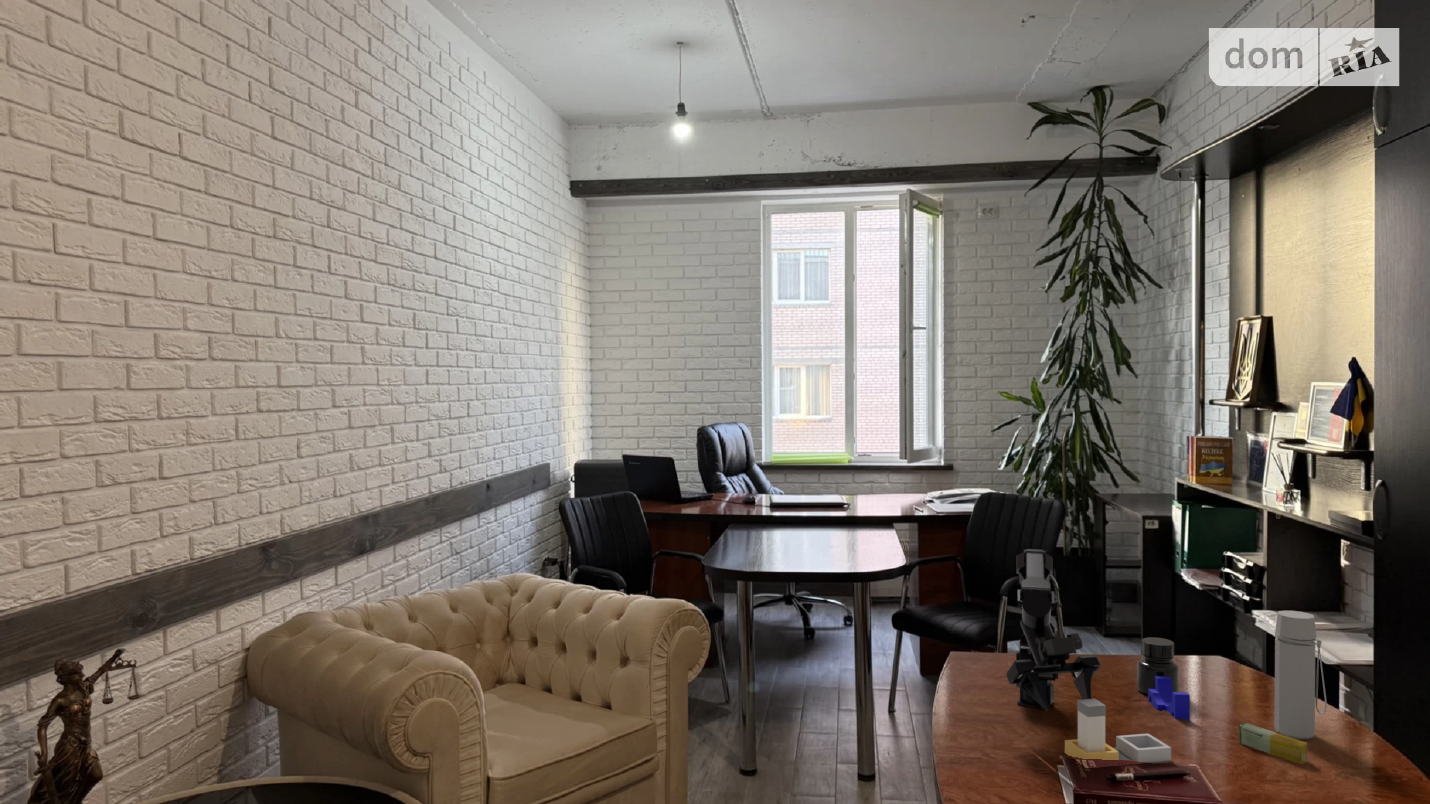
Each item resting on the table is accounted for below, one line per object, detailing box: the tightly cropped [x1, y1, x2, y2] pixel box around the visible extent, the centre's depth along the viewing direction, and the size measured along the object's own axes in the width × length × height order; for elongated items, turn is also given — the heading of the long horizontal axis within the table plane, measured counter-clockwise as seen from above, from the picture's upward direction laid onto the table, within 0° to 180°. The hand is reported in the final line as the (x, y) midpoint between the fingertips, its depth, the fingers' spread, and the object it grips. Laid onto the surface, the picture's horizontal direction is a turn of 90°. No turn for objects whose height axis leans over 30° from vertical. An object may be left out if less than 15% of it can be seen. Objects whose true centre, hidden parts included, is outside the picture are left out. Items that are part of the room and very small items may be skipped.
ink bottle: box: [1136, 636, 1180, 696], centre depth 213 cm, size 10×9×12 cm
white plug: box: [1076, 698, 1107, 753], centre depth 175 cm, size 4×4×11 cm
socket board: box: [1063, 733, 1174, 764], centre depth 176 cm, size 18×8×3 cm, turn 99°
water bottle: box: [1274, 610, 1327, 740], centre depth 187 cm, size 9×8×25 cm
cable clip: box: [1147, 676, 1191, 722], centre depth 201 cm, size 12×4×6 cm, turn 173°
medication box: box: [1238, 722, 1308, 765], centre depth 179 cm, size 12×3×4 cm, turn 30°
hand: (1069, 708), depth 183 cm, fingers open, 9 cm apart
